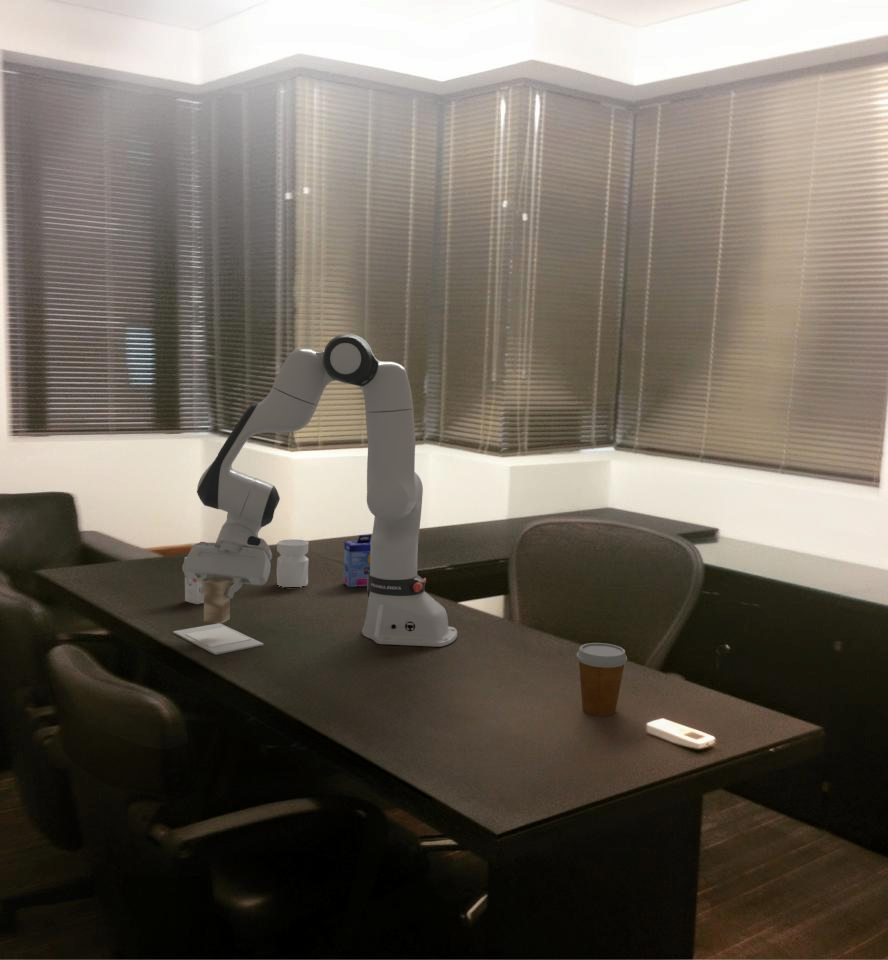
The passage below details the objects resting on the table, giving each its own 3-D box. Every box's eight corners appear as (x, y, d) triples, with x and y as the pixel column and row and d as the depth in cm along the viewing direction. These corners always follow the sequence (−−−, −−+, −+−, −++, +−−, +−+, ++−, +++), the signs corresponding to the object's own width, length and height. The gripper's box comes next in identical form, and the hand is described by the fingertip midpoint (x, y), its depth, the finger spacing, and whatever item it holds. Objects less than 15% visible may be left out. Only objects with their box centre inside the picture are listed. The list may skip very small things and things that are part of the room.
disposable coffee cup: (590, 697, 202) (593, 639, 200) (633, 710, 196) (636, 649, 194) (564, 710, 195) (567, 649, 193) (607, 723, 189) (611, 660, 187)
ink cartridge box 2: (348, 588, 283) (349, 536, 281) (342, 583, 288) (343, 533, 286) (381, 585, 288) (383, 534, 286) (374, 581, 292) (376, 531, 290)
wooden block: (229, 618, 233) (230, 580, 232) (221, 623, 229) (222, 584, 228) (211, 616, 234) (212, 578, 233) (203, 621, 230) (204, 582, 229)
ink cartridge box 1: (209, 595, 271) (209, 540, 269) (222, 598, 268) (222, 543, 266) (183, 601, 264) (183, 545, 262) (196, 604, 261) (196, 548, 259)
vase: (271, 586, 282) (271, 543, 281) (285, 579, 291) (285, 538, 289) (300, 589, 280) (300, 546, 278) (313, 582, 288) (313, 540, 286)
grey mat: (173, 633, 236) (173, 630, 236) (219, 624, 244) (219, 622, 244) (215, 654, 221) (215, 652, 221) (263, 645, 229) (263, 642, 229)
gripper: (190, 533, 238) (169, 583, 230) (271, 541, 234) (253, 592, 226) (199, 548, 243) (178, 598, 235) (278, 556, 239) (261, 607, 230)
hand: (215, 595), depth 230 cm, fingers closed on wooden block, 4 cm apart
